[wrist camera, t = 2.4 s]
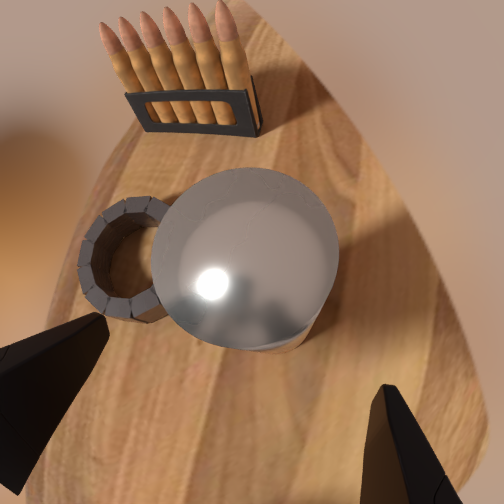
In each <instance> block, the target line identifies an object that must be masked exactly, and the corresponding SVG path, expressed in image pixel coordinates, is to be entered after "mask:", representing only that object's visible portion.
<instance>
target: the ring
mask: <svg viewBox="0 0 504 504" xmlns="http://www.w3.org/2000/svg"><path fill="white" fill-rule="evenodd" d="M170 207H171V206H169V205H167V204H165V203H164V202H162V201H160V200H158V199H157V198H155V197H153V198H152V197H151V196H143V197H129V198H127V199H126V201H125V200H124V199H122V200H121V201H119V202H117V203H116V204H114V205H113V206H111V207H109V208H108V209H106V210H105V211H103V212H102V215H103V218H102V217H101V216H100V215H99V216H98V217H97V219H96V220H95V222H94V223H93V224H92V226H91V227H90V229H89V230H88V232H87V233H86V235H85V236H84V237H85V238H86V239H87V240H83V241H82V245H81V250H80V254H79V259H78V264H77V266H78V267H80V268H79V269H78V270H77V271H78V276H79V280H80V284H81V288H82V292H83V294H84V295H86V296H85V298H86V299H87V300H88V301H89V302H90V303H91V304H92V305H93V306H94V307H95V308H96V309H97V310H98V311H99V312H100V313H101V314H104V315H105V316H109V317H112V318H116V319H119V320H123V321H129V322H137V323H146V324H148V322H150V323H153V322H155V321H157V320H158V319H160V318H162V317H164V316H166V315H168V313H167V311H166V310H165V308H164V307H163V305H162V304H161V302H160V299H159V297H158V295H157V293H156V290H155V286H154V283H153V285H152V286H151V288H149V289H147V290H145V291H143V292H141V293H140V294H138V295H136V296H134V297H132V298H130V299H126V298H120V297H119V296H118V295H117V294H116V293H115V292H114V289H113V286H112V282H111V279H110V276H109V271H110V265H111V260H112V254H113V253H114V251H115V250H116V248H117V247H118V245H119V244H120V242H121V241H122V240H123V238H124V237H126V236H127V235H129V234H131V233H132V232H134V231H136V230H137V229H139V228H141V227H159V225H160V223H161V221H162V219H163V217H164V215H165V214H166V212H167V211H168V209H169V208H170Z"/></svg>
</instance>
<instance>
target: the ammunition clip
mask: <svg viewBox="0 0 504 504" xmlns="http://www.w3.org/2000/svg"><path fill="white" fill-rule="evenodd" d="M188 19H189V27H190V31H191V35H192V38H193V43H194V47H195V51H194V50H193V48H192V47H191V45H190V43H189V40H188V38H187V37H186V34H185V31H184V29H183V27H182V25H181V23H180V21H179V20H178V18H177V16H176V15H175V14H174V12H173V11H172V10H171V9H170V8H168V7H164V10H163V22H164V28H165V32H166V35H167V38H168V41H169V45H170V48H171V51H172V52H171V51H170V49H169V48H168V46H167V44H166V42H165V40H164V39H163V37H162V35H161V32H160V30H159V28H158V27H157V25H156V23H155V22H154V21H153V19H152V18H151V17H150V16H149V15H148V14H147V13H145V12H143V11H142V12H141V13H140V24H141V30H142V34H143V37H144V39H145V42H146V44H147V48H148V50H149V52H148V51H147V50H146V48H145V46H144V44H143V43H142V41H141V39H140V37H139V35H138V34H137V32H136V30H135V29H134V28H133V26H132V25H131V24H130V23H129V22H128V21H127V20H126V19H124V18H123V17H119V22H118V23H119V30H120V35H121V38H122V41H123V43H124V45H125V47H126V49H127V52H128V53H127V52H126V50H125V49H124V47H123V46H122V44H121V42H120V40H119V39H118V37H117V36H116V34H115V33H114V32H113V31H112V30H111V29H110V28H109V27H108V26H107V25H106V24H104V23H103V22H101V23H100V24H99V30H100V36H101V39H102V42H103V44H104V47H105V49H106V50H107V52H108V55H109V57H110V59H111V61H112V64H113V67H114V70H115V72H116V74H117V76H118V77H119V79H120V81H121V82H122V84H123V86H124V87H125V89H126V91H127V92H126V93H125V97H126V98H127V100H128V102H129V104H130V105H131V107H132V109H133V111H134V113H135V114H136V116H137V118H138V120H139V121H140V123H141V125H142V127H143V128H144V130H145V132H174V133H199V134H217V135H231V136H243V137H254V138H256V137H258V136H259V133H260V130H261V127H262V124H263V118H262V114H261V110H260V106H259V102H258V98H257V94H256V90H255V86H254V82H253V78H252V76H250V72H249V67H248V62H247V58H246V53H245V51H244V49H243V47H242V45H241V41H240V38H239V35H238V32H237V28H236V24H235V21H234V19H233V16H232V14H231V12H230V10H229V9H228V7H227V6H226V4H225V3H224V2H223V1H222V0H218V1H217V5H216V11H215V20H216V28H217V33H218V37H219V44H220V49H221V55H220V52H219V50H218V49H217V47H216V45H215V43H214V40H213V37H212V35H211V32H210V29H209V26H208V24H207V22H206V19H205V17H204V16H203V14H202V12H201V11H200V9H199V8H198V7H197V6H196V5H195V4H194V3H190V5H189V9H188ZM195 52H196V53H195Z"/></svg>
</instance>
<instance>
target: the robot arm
mask: <svg viewBox="0 0 504 504" xmlns="http://www.w3.org/2000/svg"><path fill="white" fill-rule="evenodd" d="M109 336H110V333H109V329H108V325H107V321H106V318H105V316H104V315H102V314H99V313H97V312H93V313H90V314H87V315H85V316H82V317H80V318H77V319H75V320H72V321H69V322H67V323H64V324H62V325H59V326H57V327H54V328H51V329H49V330H46V331H44V332H41V333H39V334H36V335H34V336H31V337H28V338H26V339H23V340H21V341H18V342H15V343H13V344H11V345H8V346H5V347H2V348H0V483H1V484H2V485H3V486H5V487H6V488H8V489H9V490H10V491H12V492H13V493H15V494H16V495H17V496H18V495H19V494H20V492H21V491H22V489H23V487H24V485H25V483H26V481H27V479H28V477H29V476H30V474H31V472H32V470H33V468H34V466H35V465H36V463H37V461H38V459H39V458H40V455H41V454H42V452H43V450H44V449H45V447H46V445H47V443H48V442H49V440H50V438H51V436H52V435H53V433H54V431H55V430H56V428H57V426H58V425H59V423H60V421H61V420H62V418H63V417H64V415H65V413H66V412H67V410H68V408H69V407H70V405H71V404H72V402H73V400H74V399H75V397H76V396H77V394H78V393H79V391H80V389H81V388H82V386H83V385H84V383H85V382H86V380H87V379H88V377H89V375H90V374H91V372H92V370H93V368H94V367H95V365H96V363H97V361H98V359H99V357H100V355H101V353H102V351H103V349H104V347H105V345H106V344H107V342H108V340H109ZM360 504H463V503H462V501H461V500H460V498H459V497H458V495H457V493H456V491H455V490H454V488H453V486H452V484H451V482H450V480H449V479H448V477H447V475H445V471H444V469H443V467H442V466H441V464H440V462H439V460H438V458H437V456H436V455H435V453H434V451H433V449H432V447H431V446H430V444H429V442H428V440H427V438H426V437H425V435H424V433H423V431H422V430H421V428H420V426H419V424H418V423H417V421H416V419H415V417H414V416H413V414H412V412H411V411H410V409H409V407H408V405H407V404H406V402H405V400H404V399H403V397H402V395H401V394H400V392H399V390H398V389H397V387H396V386H395V385H388V384H383V385H381V387H380V388H379V390H378V392H377V394H376V396H375V397H374V399H373V401H372V404H371V409H370V416H369V423H368V430H367V436H366V442H365V448H364V458H363V473H362V485H361V496H360Z"/></svg>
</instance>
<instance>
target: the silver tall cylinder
mask: <svg viewBox="0 0 504 504" xmlns="http://www.w3.org/2000/svg"><path fill="white" fill-rule="evenodd" d="M338 263H339V244H338V237H337V233H336V229H335V225H334V223H333V221H332V218H331V216H330V214H329V212H328V211H327V209H326V207H325V206H324V204H323V203H322V202H321V200H320V199H319V198H318V197H317V196H316V195H315V194H314V193H313V192H312V191H311V190H310V189H309V188H308V187H306V186H305V185H304V184H302V183H301V182H299V181H298V180H296V179H294V178H292V177H290V176H288V175H285V174H283V173H280V172H277V171H273V170H269V169H263V168H236V169H231V170H226V171H222V172H219V173H216V174H213V175H211V176H209V177H207V178H205V179H203V180H201V181H199V182H198V183H196V184H194V185H193V186H192V187H190V188H189V189H188V190H186V191H185V192H184V193H183V194H182V195H181V196H180V197H179V198H178V199H177V200H176V201H175V202H174V203H173V204H172V206H171V207H170V208H169V209H168V211H167V212H166V214H165V215H164V217H163V219H162V221H161V223H160V225H159V227H158V230H157V232H156V235H155V238H154V242H153V247H152V255H151V272H152V278H153V283H154V286H155V290H156V293H157V295H158V297H159V299H160V302H161V304H162V305H163V307H164V308H165V310H166V311H167V313H168V314H169V315H170V317H171V318H172V319H173V320H174V321H175V322H176V323H177V324H178V325H179V326H180V327H182V328H183V329H184V330H185V331H187V332H188V333H190V334H191V335H193V336H194V337H196V338H198V339H200V340H203V341H205V342H207V343H210V344H214V345H217V346H221V347H227V348H234V349H240V350H247V351H253V352H261V353H268V354H282V353H286V352H289V351H291V350H293V349H295V348H296V347H297V346H299V345H300V344H301V343H302V342H303V341H304V339H305V338H306V336H307V335H308V333H309V331H310V329H311V327H312V325H313V324H314V322H315V320H316V318H317V316H318V314H319V312H320V310H321V309H322V307H323V305H324V303H325V301H326V299H327V297H328V295H329V293H330V291H331V289H332V287H333V284H334V281H335V278H336V274H337V269H338Z"/></svg>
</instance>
